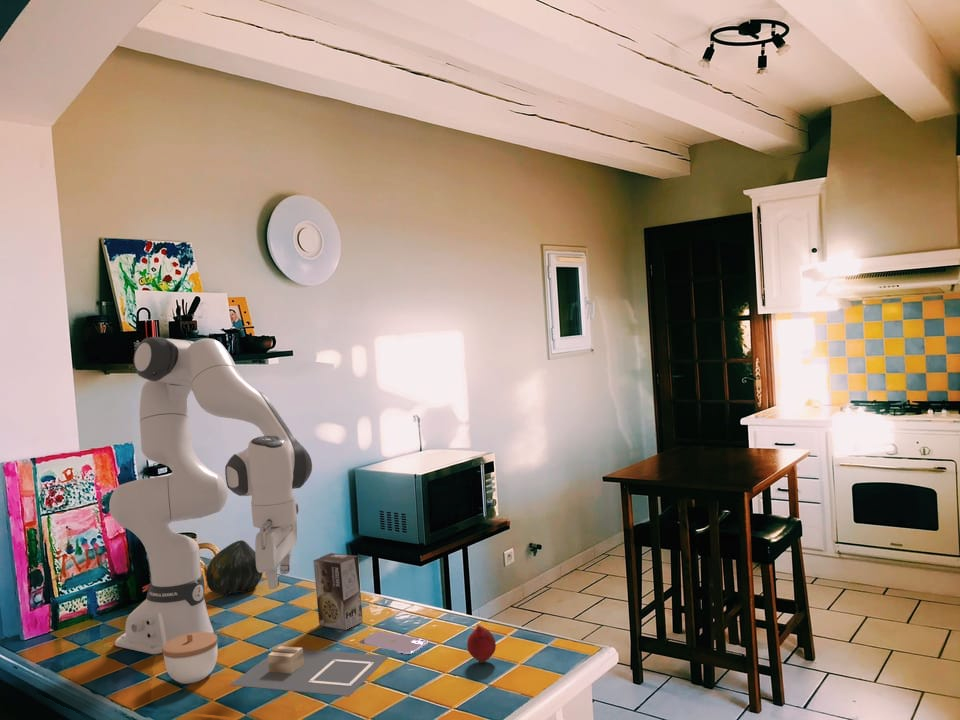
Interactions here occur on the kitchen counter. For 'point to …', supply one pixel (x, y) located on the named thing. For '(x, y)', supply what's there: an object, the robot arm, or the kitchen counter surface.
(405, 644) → the mobile phone
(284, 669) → the taped cardboard box
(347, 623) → the coffee box
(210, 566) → the squash
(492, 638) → the onion
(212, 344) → the robot arm
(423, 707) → the kitchen counter surface
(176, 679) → the lidded jar
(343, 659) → the rubber mat
